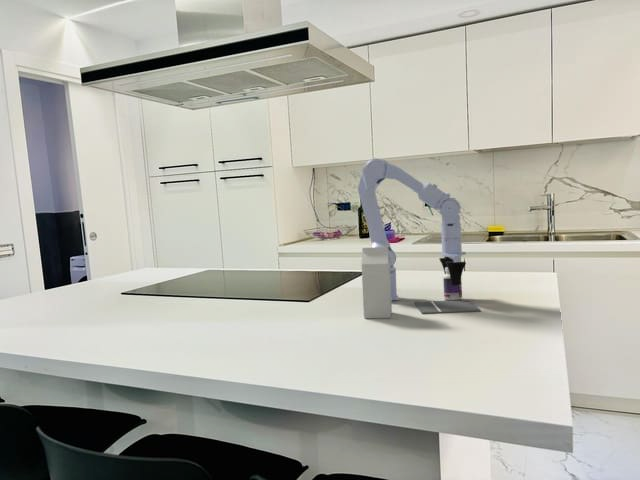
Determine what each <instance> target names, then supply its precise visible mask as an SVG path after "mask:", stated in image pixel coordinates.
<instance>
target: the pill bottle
mask: <svg viewBox="0 0 640 480" xmlns="http://www.w3.org/2000/svg"><path fill="white" fill-rule="evenodd" d="M445 272H446V274H445V273H444V274H443V276H442V281H443V282H442V285H443V286H442V287H443V299H444V301H451V300H463V287H462V284H463V283H462V280H461V281H460V285H452V283H451V278H450V273H449V269H448V267H446V268H445Z"/></svg>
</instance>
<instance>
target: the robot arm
mask: <svg viewBox="0 0 640 480" xmlns="http://www.w3.org/2000/svg"><path fill="white" fill-rule="evenodd" d="M386 179H390V180H397V182H399V183H401V184H403V185H404V186H405V187H407V188H409V189H410V190H412V191H414V192H415V193H417V196H418V200H420V201H422V202H423V203H425V204H426V205H428V206H429V207H431V208H432V209H433V210H436V211H437V210H438V211H439V214H440V215H441V223H440V224H441V225H440V226H441V227H440V228H441V231H440V232H441V256H442V257H440V258H439V262H440V263H441V266H442V268H443V271H444V275H445V274H446V272H445V268H446V267H448V269H449V273H450V278H451V283H452V285H460V281H461V282H462V275H463V271H464V269H465V267H466V265H467V262H466V261H462V256H465V255H466V254H467V253H466V251H462V226H461V225H462V223H461V215H460V212H461V209H462V208H461V207H462V206H461V203H460V202H459V200H457V199H456V198H455V197H451V195H452V194H450V193H446V192H444V191H443V190H441V189H440V188H438V185H437V183H433V184H432V183H431V182H429V183H422V182H421V181H419V180H418V179H417V178H415V177H414V176H412V175H411V174H410V173H408V172H406V171H405V170H404V169H402V168H401V167H399V166H397V165H395V164H393V163H390V162H388V161H387V160H385V159H380V158H377V157H374V158H371V159H369V160H368V161H366V163H365V164H364V166H363V167H362V169H361V175H360V179H359V182H358V186H357V193H358V195H359V200H360V203H361V207H362V211H363V215H364V218H365V219H364V220H365V223H366V227H367V231H368V233H369V238H370V241H371V246H370V248H371V247H388V250H389V258H390V279H391V301H400V297H399V295H398V293H397V271H396V270H397V268H396V267H395V266H394V265H395V263H396V262H397V255H396V253H395V251H394V250H393V249H392V247H391V244H390V241H388V238H387V234H386V231H385V226H384V223H383V217H382V215H381V210H380V208H379V203H378V199H377V194H376V190H377V188H378V187H379V186H380V184H381V183H382V182H383V181H384V180H386Z"/></svg>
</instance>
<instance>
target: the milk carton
mask: <svg viewBox="0 0 640 480" xmlns="http://www.w3.org/2000/svg"><path fill="white" fill-rule="evenodd" d="M361 249H362V255H361V278H362V279H361V280H362V281H361V283H362V285H361V286H362V301H363V303H362V305H363V318H364V319H391V316H392V311H393V310H392V309H393V307H392V306H393V305H392V300H391V279H390V258H389V250H388V247H371V246H370V247H362V248H361Z"/></svg>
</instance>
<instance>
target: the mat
mask: <svg viewBox="0 0 640 480" xmlns="http://www.w3.org/2000/svg"><path fill="white" fill-rule="evenodd" d="M414 304H415V306H416V307H417V309H418V310H419V312H420V313H421V314H422V315H425V314H427V315H428V314H450V313H451V314H452V313H453V314H455V313H474V312H478V313H479V312H481V311H482V310H481V308H479V307H478V306H477V305H476V304H474V302H472V301H471V300H469V299H460V300H437V301H436V300H435V301H434V300H428V301H414Z"/></svg>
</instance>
